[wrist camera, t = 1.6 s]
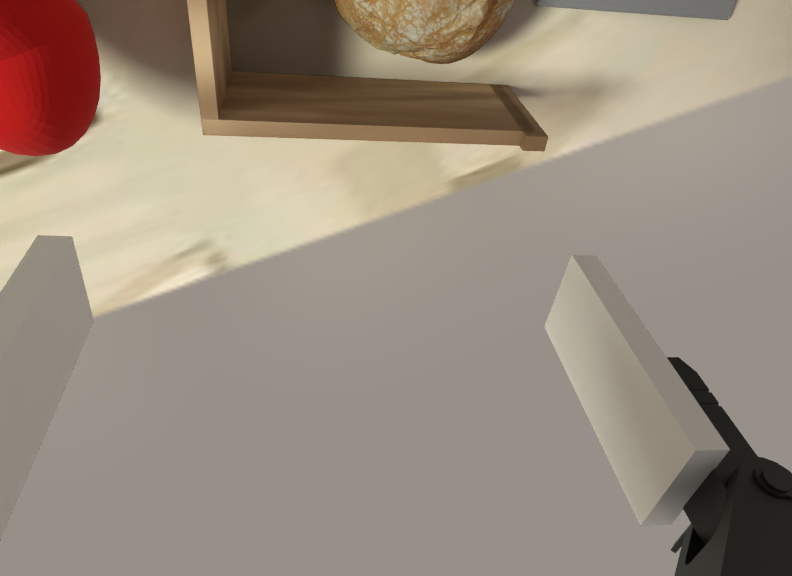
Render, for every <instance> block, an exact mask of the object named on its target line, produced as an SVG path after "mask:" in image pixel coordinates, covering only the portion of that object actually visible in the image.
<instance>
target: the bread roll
mask: <svg viewBox="0 0 792 576" xmlns="http://www.w3.org/2000/svg"><path fill="white" fill-rule="evenodd" d="M514 1H515V0H335V3H336V6H337V9H338V11H339V13H340V14H341V16H342V17H343V18H344V20H345V21H346V22H347V23H348V24H349V25H350V26H351V28H352V29H353V30H354V31H355V32H358V34H359V35H360V37H361V38H363V39H364V40H365V41H367V42H368V43H371V44H372V45H373V46H374V47H375V48H376V49H379V50H385V51H388V52H391V53H392V54H397V53H398V54H400V55H403V56H407V57H410V58H415V59H421V60H423V61H425V62H429V63H437V64H449V63H453V62H456V61H459V60H462V59H464V58H466V57H468V56H470V55H471V54H473V53H474V52H476V51H477V50H478V49H480V48H481V47H482V46H483V45H484V44H485V43H486V42H487V41H488V40H489V39H490V38H491V37H492V35H493V34H494V33H495V32H496V31H497V30H498V29H499V28H500V26H501V25H502V23H503V22H504V20H505V18H506V17H507V15H508V14H509V12H510V10H511V8H512V7H513V4H514Z"/></svg>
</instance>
